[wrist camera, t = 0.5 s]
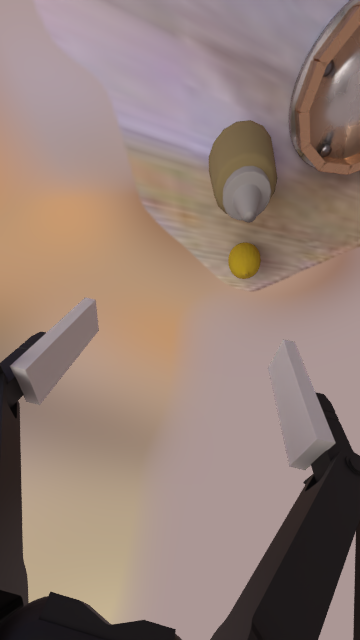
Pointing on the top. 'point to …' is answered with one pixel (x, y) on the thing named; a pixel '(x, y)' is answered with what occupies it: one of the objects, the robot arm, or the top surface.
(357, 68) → the flange seat
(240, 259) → the lemon
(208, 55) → the top surface
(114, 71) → the top surface
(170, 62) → the top surface
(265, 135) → the squeeze bottle
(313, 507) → the robot arm
